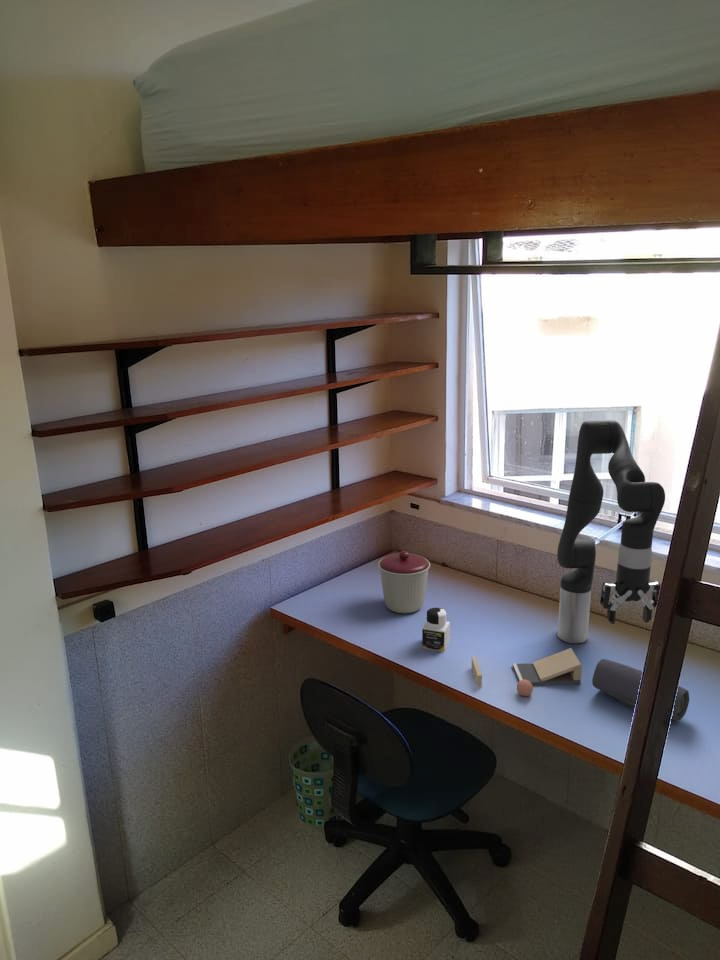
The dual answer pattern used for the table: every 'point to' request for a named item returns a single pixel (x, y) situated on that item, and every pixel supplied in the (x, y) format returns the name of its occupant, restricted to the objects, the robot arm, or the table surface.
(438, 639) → the medicine bottle
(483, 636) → the table surface
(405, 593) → the canister
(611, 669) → the bluetooth speaker
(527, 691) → the ball
